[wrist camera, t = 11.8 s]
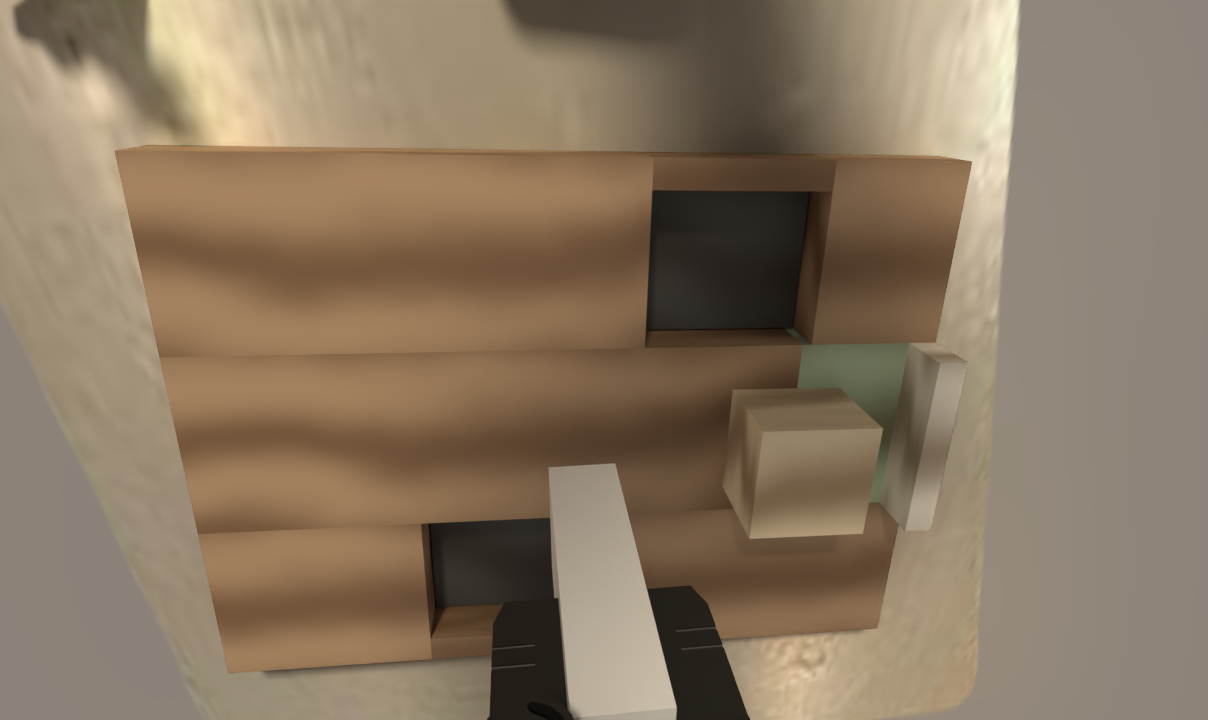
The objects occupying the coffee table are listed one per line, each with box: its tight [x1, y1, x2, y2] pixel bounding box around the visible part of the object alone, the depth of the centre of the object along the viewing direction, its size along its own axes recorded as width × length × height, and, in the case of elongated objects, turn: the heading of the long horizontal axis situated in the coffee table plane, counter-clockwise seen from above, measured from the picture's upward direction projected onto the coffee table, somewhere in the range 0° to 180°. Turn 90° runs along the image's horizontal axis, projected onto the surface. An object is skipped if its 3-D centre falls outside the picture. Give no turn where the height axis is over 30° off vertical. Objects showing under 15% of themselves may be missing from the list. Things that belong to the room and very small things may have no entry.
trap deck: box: [115, 145, 972, 673], centre depth 38 cm, size 29×40×6 cm
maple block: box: [722, 388, 883, 539], centre depth 37 cm, size 6×6×5 cm
